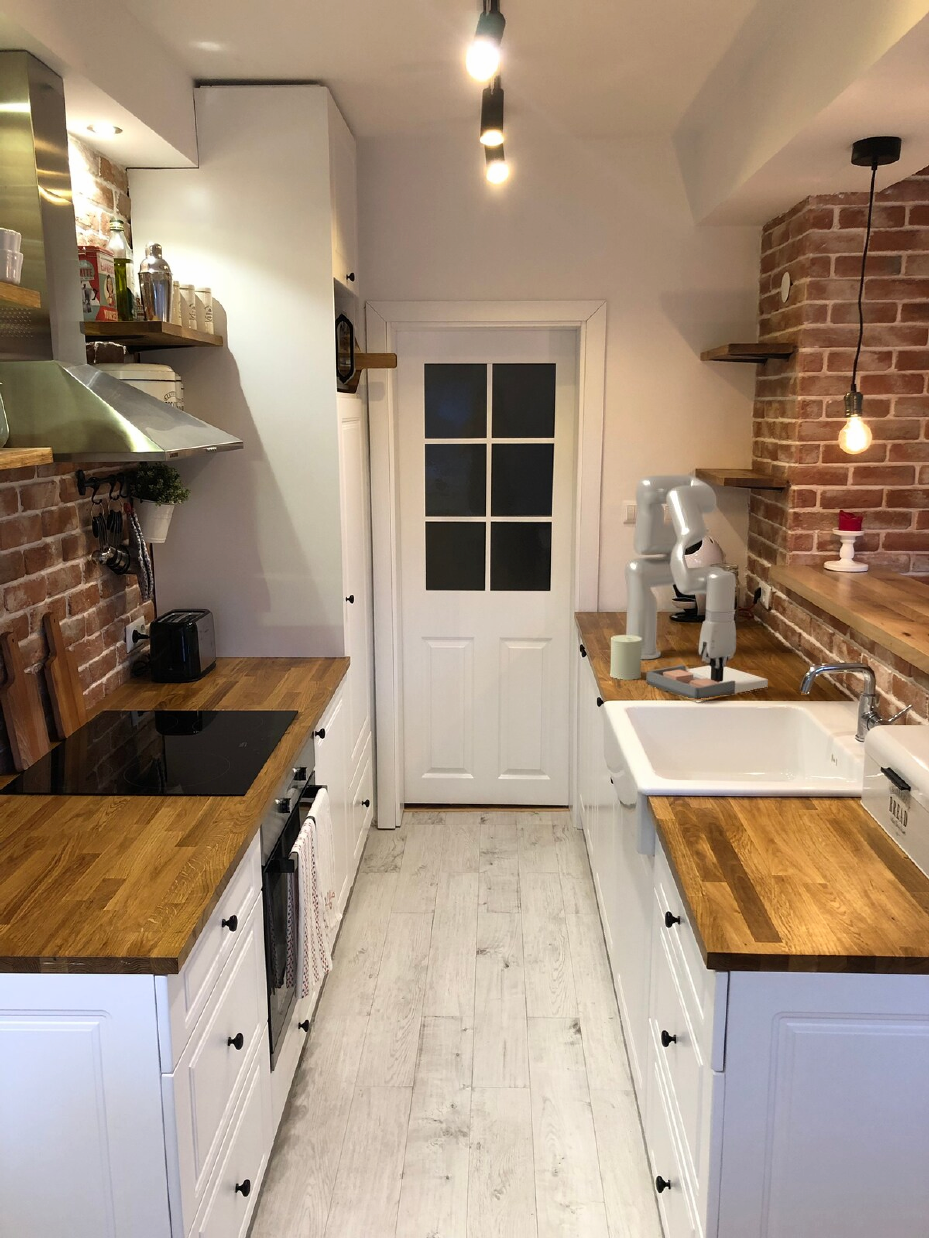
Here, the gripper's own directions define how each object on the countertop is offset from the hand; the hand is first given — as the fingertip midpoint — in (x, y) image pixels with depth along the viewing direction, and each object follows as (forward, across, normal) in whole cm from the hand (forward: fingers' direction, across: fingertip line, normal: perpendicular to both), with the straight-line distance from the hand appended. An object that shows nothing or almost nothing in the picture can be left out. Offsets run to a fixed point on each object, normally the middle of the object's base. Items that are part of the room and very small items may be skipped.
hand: (716, 680), depth 271 cm
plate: (+3, -9, -6) cm, 11 cm away
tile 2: (+2, +4, 0) cm, 4 cm away
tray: (+3, +4, -6) cm, 8 cm away
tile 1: (+2, +4, -11) cm, 12 cm away
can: (+4, +10, -27) cm, 29 cm away
